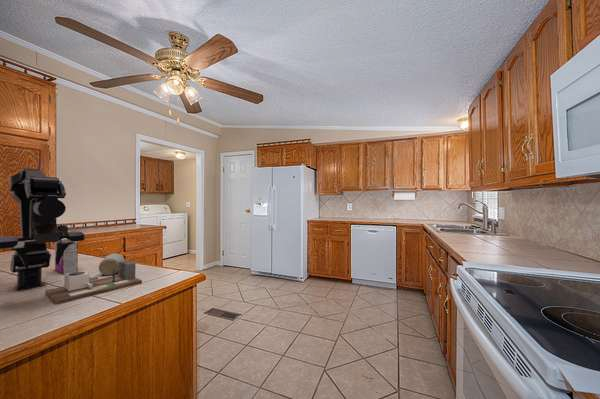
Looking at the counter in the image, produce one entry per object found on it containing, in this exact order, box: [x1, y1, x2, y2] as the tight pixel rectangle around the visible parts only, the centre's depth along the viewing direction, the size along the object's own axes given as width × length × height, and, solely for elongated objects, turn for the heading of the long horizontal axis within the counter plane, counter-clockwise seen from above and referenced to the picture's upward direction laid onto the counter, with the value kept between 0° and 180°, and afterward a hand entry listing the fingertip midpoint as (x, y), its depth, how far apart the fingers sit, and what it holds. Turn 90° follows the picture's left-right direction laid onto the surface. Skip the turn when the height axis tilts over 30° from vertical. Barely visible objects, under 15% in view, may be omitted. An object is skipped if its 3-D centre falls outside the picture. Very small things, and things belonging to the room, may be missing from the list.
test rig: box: [45, 259, 143, 305], centre depth 85 cm, size 14×23×7 cm, turn 145°
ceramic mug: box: [98, 252, 125, 276], centre depth 102 cm, size 11×8×8 cm
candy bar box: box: [54, 241, 79, 276], centre depth 103 cm, size 11×5×16 cm, turn 58°
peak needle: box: [112, 269, 116, 283], centre depth 85 cm, size 1×1×5 cm, turn 55°
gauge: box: [63, 270, 99, 291], centre depth 82 cm, size 10×8×5 cm
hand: (42, 266), depth 75 cm, fingers open, 6 cm apart
